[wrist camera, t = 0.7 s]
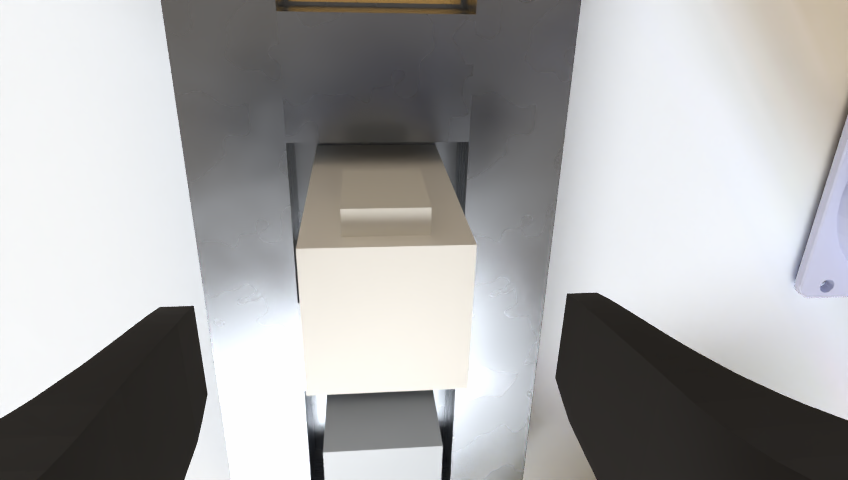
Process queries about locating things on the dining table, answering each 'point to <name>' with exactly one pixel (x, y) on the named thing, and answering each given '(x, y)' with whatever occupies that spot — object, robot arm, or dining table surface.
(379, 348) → the plug
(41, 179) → the dining table surface
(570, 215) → the dining table surface
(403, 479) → the white cube
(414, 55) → the grey slotted board
